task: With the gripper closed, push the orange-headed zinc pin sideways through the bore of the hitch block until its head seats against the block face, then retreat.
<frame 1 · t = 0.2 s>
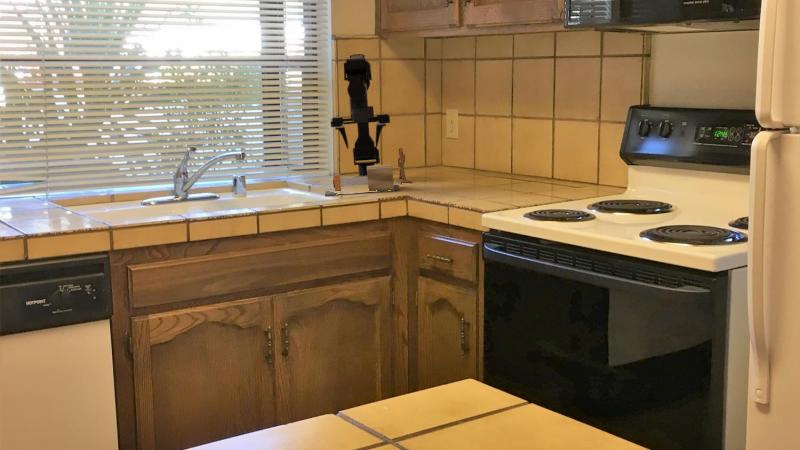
hand: (362, 147, 290), 14 cm above the counter, fingers open, 9 cm apart
hitch block: (381, 190, 295), resting on mat
brown figurine: (402, 183, 311), on the counter
mat: (362, 191, 295), on the counter
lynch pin: (358, 180, 294), point 4 cm above the counter, slide at 9.0 cm
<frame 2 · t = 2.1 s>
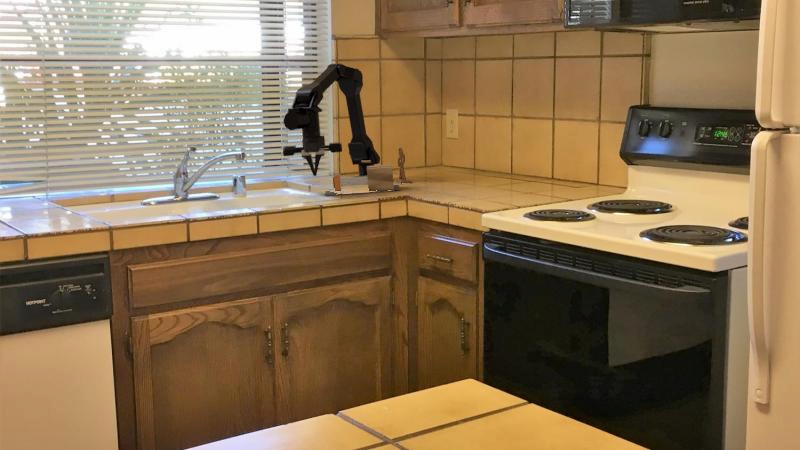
hand: (315, 175, 293), 6 cm above the counter, fingers closed
nothing on the counter moved.
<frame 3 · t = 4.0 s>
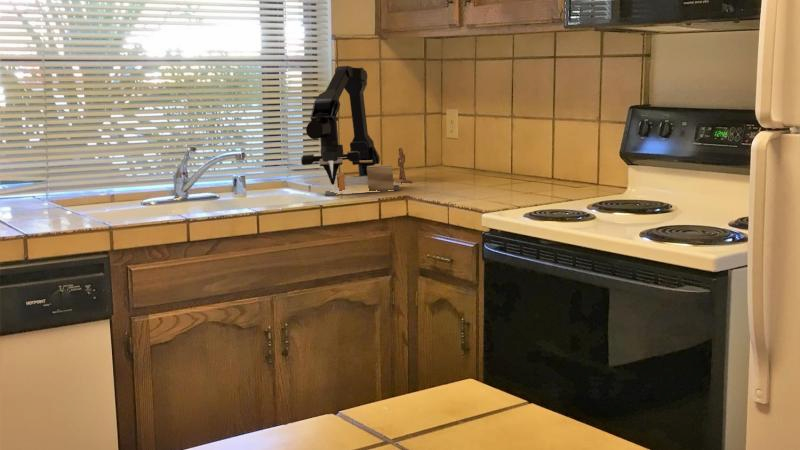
hand: (332, 184, 294), 3 cm above the counter, fingers closed
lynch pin: (362, 180, 294), point 4 cm above the counter, slide at 7.6 cm, touching gripper
everything else where it was.
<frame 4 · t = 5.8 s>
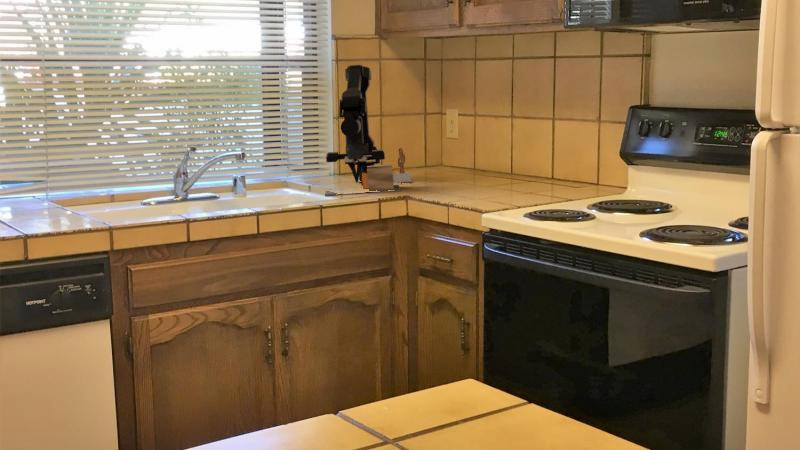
hand: (356, 182, 294), 3 cm above the counter, fingers closed
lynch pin: (386, 178, 294), point 4 cm above the counter, slide at 0.0 cm, touching gripper, hitch block
everything else where it was.
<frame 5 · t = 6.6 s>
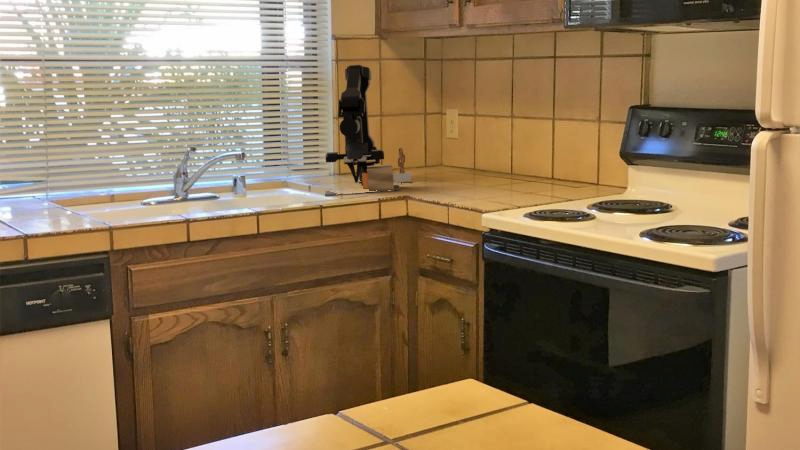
hand: (356, 182, 294), 3 cm above the counter, fingers closed
nothing on the counter moved.
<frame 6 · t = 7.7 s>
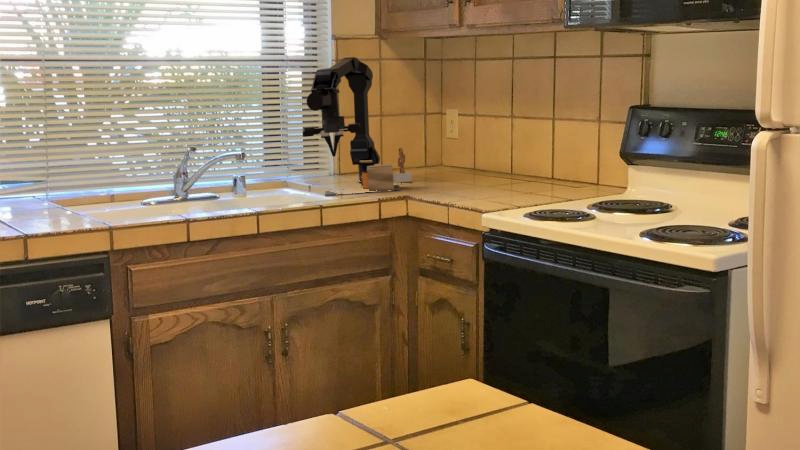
hand: (334, 156, 296), 12 cm above the counter, fingers closed
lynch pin: (386, 178, 294), point 4 cm above the counter, slide at 0.0 cm, touching hitch block
everything else where it was.
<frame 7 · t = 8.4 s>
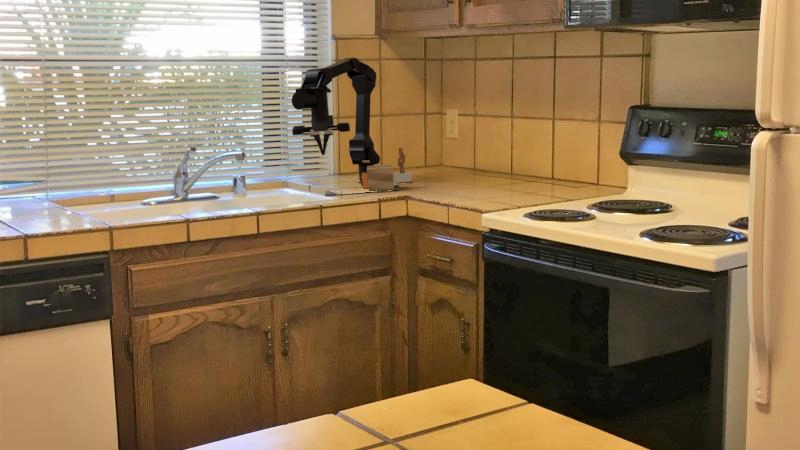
hand: (323, 155, 300), 12 cm above the counter, fingers closed
nothing on the counter moved.
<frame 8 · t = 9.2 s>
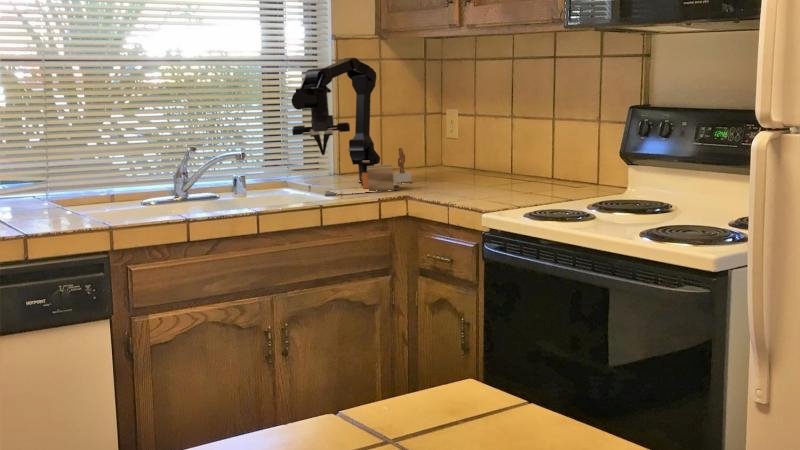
hand: (323, 155, 300), 12 cm above the counter, fingers closed
nothing on the counter moved.
at the end: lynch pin slide at 0.0 cm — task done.
